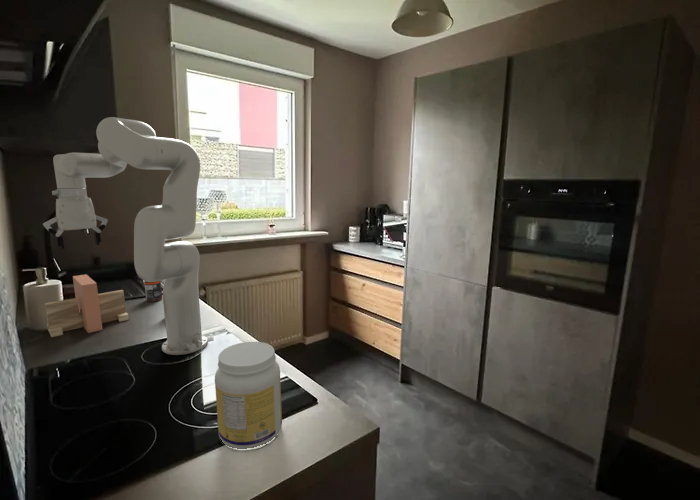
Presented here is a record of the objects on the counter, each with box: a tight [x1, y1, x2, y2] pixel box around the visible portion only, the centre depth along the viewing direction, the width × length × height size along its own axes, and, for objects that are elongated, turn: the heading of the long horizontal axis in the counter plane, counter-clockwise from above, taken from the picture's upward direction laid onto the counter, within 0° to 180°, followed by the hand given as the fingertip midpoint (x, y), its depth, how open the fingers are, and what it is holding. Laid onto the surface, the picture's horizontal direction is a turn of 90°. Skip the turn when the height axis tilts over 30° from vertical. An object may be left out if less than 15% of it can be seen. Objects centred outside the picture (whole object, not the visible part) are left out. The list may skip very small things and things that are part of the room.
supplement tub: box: [214, 341, 283, 449], centre depth 73 cm, size 12×12×17 cm
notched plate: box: [72, 274, 103, 334], centre depth 129 cm, size 16×4×16 cm, turn 44°
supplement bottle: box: [143, 280, 163, 303], centre depth 156 cm, size 6×6×11 cm
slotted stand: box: [44, 289, 130, 338], centre depth 130 cm, size 8×22×10 cm, turn 134°
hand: (80, 246), depth 125 cm, fingers open, 9 cm apart
